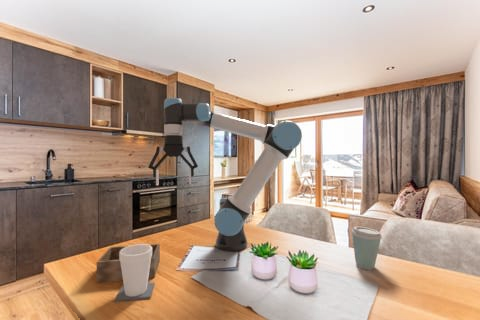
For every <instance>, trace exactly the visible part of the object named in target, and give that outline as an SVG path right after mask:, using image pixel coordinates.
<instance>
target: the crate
mask: <svg viewBox="0 0 480 320" xmlns="http://www.w3.org/2000/svg"><path fill="white" fill-rule="evenodd" d="M149 245H150V246H152V257H151V263H150V270H149V277H148V279H155V278H156V274H157V271H158V268H159V265H160V262H161V261H160V259H161V258H160V257H161V253H160V252H161V244H160V243H155V244H153V243H151V244H149ZM127 246H128V245H122V246H121V245H120V246H109V248H108V249H107V250H106V251H105V252H104V253H103V255H102V256H101V257H100V258H99V259H98V260H97V261H96V283H97V284H99V283H100V284H101V283H107V282H108V283H109V282H110V283H111V282H121V281H122V282H123V277H122V270H121V263H120V260H119V252H120V250H121V249H123V248H125V247H127Z"/></svg>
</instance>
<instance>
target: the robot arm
mask: <svg viewBox="0 0 480 320" xmlns="http://www.w3.org/2000/svg"><path fill="white" fill-rule="evenodd" d="M163 121H164V122H163V134H164V137H163V139H164V142H163V143H164V144H163V147H162V146H157V147H156V149H155V153H154V155H153V156H152V159H151V160H150V162H149V165H148V169H151V170H152V172H153V174H152V177H153V178H155V186H159V180H160V179H159V169H158V168H159V167H160V165H161V164H162V163H163V162H164V161H165V160H166V158H168V157H170V158H172V157H174V158H177V157H180V159H182V160H183V161H184V162H185V163H186V164H187V166H188V167H189V168H188V185H192V177H194V175H195V173H194V171H195V170H194V169H197V168H198V167H199V166H198V164H197V162H196V160H195V158H194V156H193V154H192V152H191V147H190V146H183V145H184V144H183V136H182V135H183V122H194V123H196V125H197V124H198V125H199V126H201V127H208V128H211V129H215V130H219V131H223V132H226V133H230V134H233V135H237V136H241V137H245V138H249V139H253V140H257V141H260V142H261V143H262V145H264V149H263V151H262V153H261V154H260V155H259V157H258V158H257V159H256V161H255V162H254V164H253V165H252V167H251V168H250V170H249V171H248V173H247V174H246V176H245V177H244V179H243V180H242V181H241V183H240V185H239V186H238V188H237V189H236V190H235V192H234V194H233V195H229V196H227V197H221V198H220V200H219V209H218V211H217V212H216V213H215V215H214V227H215V229H216V230H217V232H218V234H217V237H216V240H215V247H216V248H217V249H219V250H222V251H225V252H236V251H241V250H244V249H246V248H247V246H248V240H247V236H246V233H245V229H244V227H245V225H244V224H245V222H246V220H247V219H248V217H249V216H250V214H251V206H252V205H253V204H254V201H255V200H256V199H257V198H258V196H259V195H260V193H261V192H262V190H263V188H265V185H266V184H267V182H268V181H269V179H270V178H271V177H272V175H273V174H274V172H275V171H276V169H277V168H278V166H279V164H280V163H281V162H282V161H283V160H287V159H288V158H289V156H290V155H291V154H292V152H293V150H294V149H296V148H297V147H298V146H299V145H300V143H301V141H302V138H303V135H302V134H303V133H302V130H301V128H300V126H299V125H298V124H297V123H296V122H293V121H291V120H283V121H280V122H278V123H277V124H276V125H275V124H274V125H273V124H271V123H270V124H269V123H268V124H266V125H265V124H261V123H257V122H252V121H249V120H246V119H241V118H237V117H234V116H230V115H226V114H224V113H223V114H222V113H219V112H215V111H211V107H210V104H209V103H203V102H197V103H196V102H195V103H183V101H182V99H181V98H179V97H178V98H177V97H168V98H165V99H164V102H163ZM162 151H163V152H164V155H162V157H161V158H160V159H159V161H157V158H158V157H159V155H160V153H161V152H162ZM184 151H185V152H186V153H187V154H188V156H189V158H190V161H191V162H192V164H193V165H192V164H191V162H189V160H188V159H187V158H186V157H185V155H183V152H184ZM156 161H157V163H156V164H155V162H156ZM154 164H155V165H154Z"/></svg>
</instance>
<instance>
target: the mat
mask: <svg viewBox="0 0 480 320" xmlns="http://www.w3.org/2000/svg"><path fill="white" fill-rule="evenodd" d="M155 285H156V283H155V282H148V284H147V290H146V291H145V292H144V293H143V294H141V295H138V296H127V295H126V294H125V290H124V284H123V285H122V286H121V287H120V289H119V291H118V293H117V295H116V297H115V299H114V303H119V302H129V301H137V300H149V299H151V298H152V295H153V292H154V291H153V290H154V288H155Z"/></svg>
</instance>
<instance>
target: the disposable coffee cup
mask: <svg viewBox="0 0 480 320" xmlns="http://www.w3.org/2000/svg"><path fill="white" fill-rule="evenodd" d="M351 234H352V235H351V236H352V241H353V242H352V243H353V244H352V245H353V251H354V258H355V259H354V260H355V264H356V266H357V267H359V268H360V269H364V270H367V271H369V270H371V271H372V270H374V269H375V267H376V263H377V257H378V252H379V247H380V243H381V239H382V233H381V232H380V231H378V230H376V229H373V228H370V227H365V226H353V228H352V230H351Z"/></svg>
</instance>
